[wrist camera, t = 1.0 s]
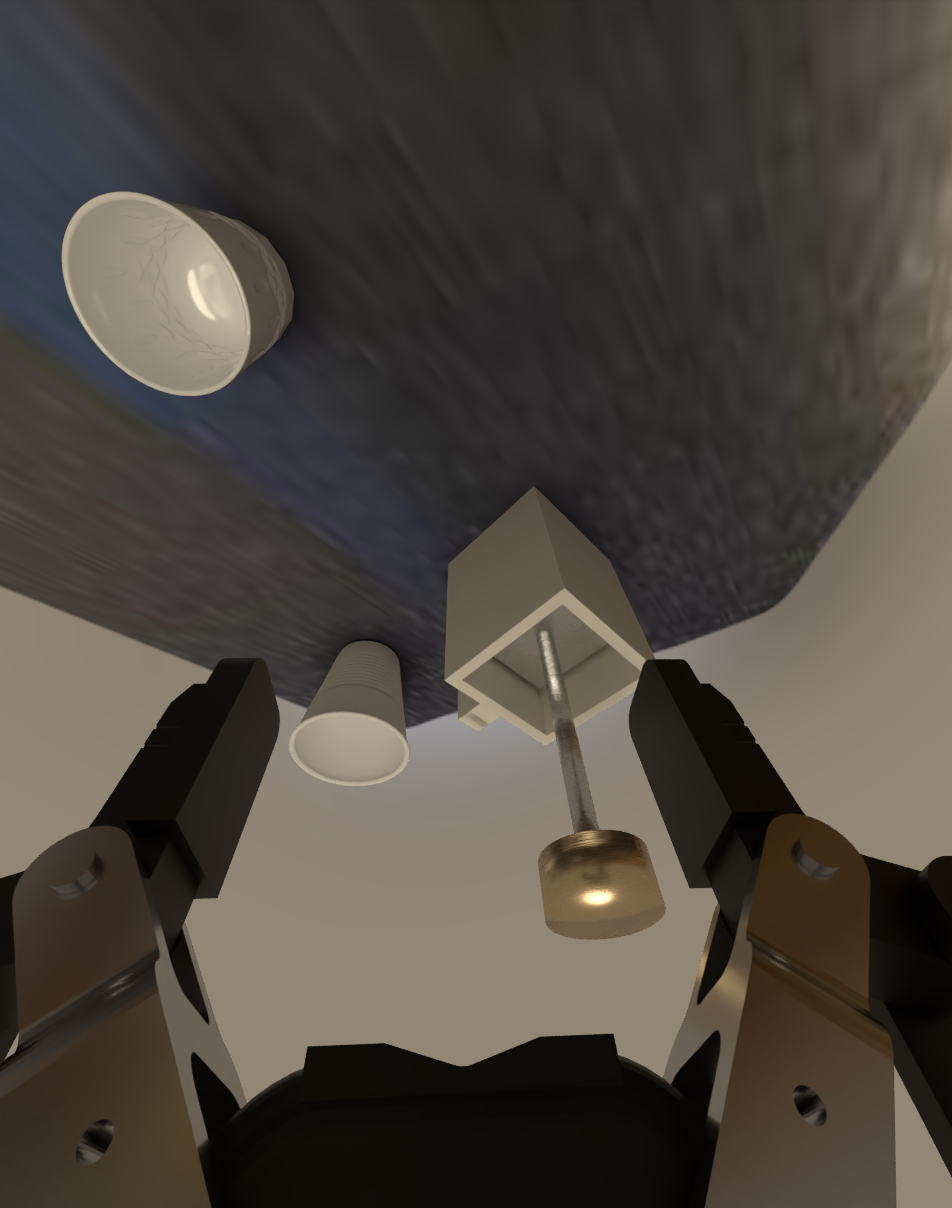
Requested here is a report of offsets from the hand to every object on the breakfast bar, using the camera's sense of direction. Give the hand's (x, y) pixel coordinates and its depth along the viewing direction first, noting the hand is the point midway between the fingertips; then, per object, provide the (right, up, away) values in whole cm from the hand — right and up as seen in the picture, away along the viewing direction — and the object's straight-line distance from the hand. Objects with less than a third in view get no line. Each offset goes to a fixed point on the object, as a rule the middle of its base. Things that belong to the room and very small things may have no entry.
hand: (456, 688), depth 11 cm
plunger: (+5, 0, +25) cm, 25 cm away
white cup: (-14, +22, +20) cm, 33 cm away
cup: (-10, -4, +39) cm, 40 cm away
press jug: (+4, +5, +33) cm, 33 cm away
